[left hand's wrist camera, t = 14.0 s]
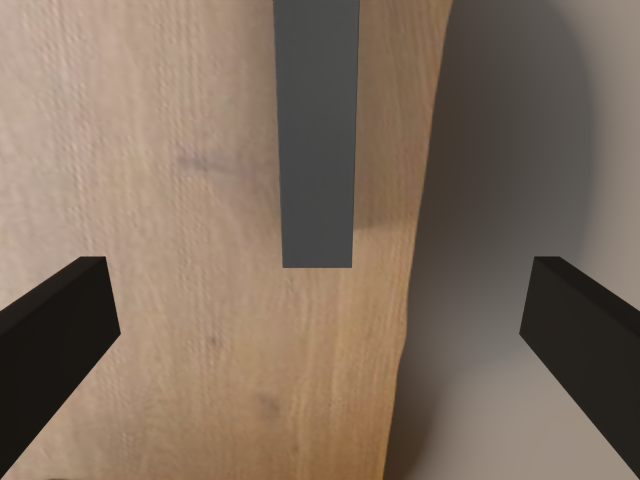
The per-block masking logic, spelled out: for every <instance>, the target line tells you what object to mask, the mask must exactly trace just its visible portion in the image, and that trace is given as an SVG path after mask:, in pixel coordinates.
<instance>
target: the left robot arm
mask: <svg viewBox="0 0 640 480" xmlns="http://www.w3.org/2000/svg"><path fill="white" fill-rule="evenodd" d="M120 334H121V332H120V327H119V322H118V317H117V312H116V307H115V302H114V297H113V292H112V287H111V282H110V277H109V272H108V267H107V261H106V257H79V258H78V259H76V260H75V261H73V262H72V263H70V264H69V265H67V266H66V267H64V268H63V269H62V270H60V271H59V272H57V273H56V274H54V275H53V276H51V277H50V278H48V279H47V280H45V281H44V282H42V283H41V284H40V285H38V286H37V287H35V288H34V289H32V290H31V291H29V292H28V293H26V294H25V295H23V296H22V297H20V298H19V299H18V300H16V301H15V302H13V303H12V304H10V305H9V306H7V307H6V308H4V309H3V310H1V311H0V479H1V478H2V477H3V476H4V475H5V473H6V472H7V471H8V470H9V469H10V467H11V466H12V465H13V464H14V463H15V461H16V460H17V459H18V458H19V456H20V455H21V454H22V453H23V452H24V450H25V449H26V448H27V447H28V446H29V444H30V443H31V442H32V441H33V440H34V438H35V437H36V436H37V435H38V434H39V432H40V431H41V430H42V429H43V427H44V426H45V425H46V424H47V423H48V421H49V420H50V419H51V418H52V417H53V415H54V414H55V413H56V412H57V411H58V409H59V408H60V407H61V406H62V404H63V403H64V402H65V401H66V400H67V398H68V397H69V396H70V395H71V394H72V392H73V391H74V390H75V389H76V388H77V386H78V385H79V384H80V383H81V382H82V380H83V379H84V378H85V377H86V375H87V374H88V373H89V372H90V371H91V369H92V368H93V367H94V366H95V365H96V363H97V362H98V361H99V360H100V359H101V357H102V356H103V355H104V354H105V352H106V351H107V350H108V349H109V348H110V346H111V345H112V344H113V343H114V342H115V340H116V339H117V338H118V337H119V336H120ZM519 334H520V336H521V337H522V338H523V339H524V340H525V342H526V343H527V344H528V345H529V346H530V348H531V349H532V350H533V351H534V352H535V354H536V355H537V356H538V357H539V359H540V360H541V361H542V362H543V363H544V365H545V366H546V367H547V368H548V369H549V371H550V372H551V373H552V374H553V375H554V377H555V378H556V379H557V380H558V381H559V383H560V384H561V385H562V386H563V388H564V389H565V390H566V391H567V392H568V394H569V395H570V396H571V397H572V398H573V400H574V401H575V402H576V403H577V404H578V406H579V407H580V408H581V409H582V410H583V412H584V413H585V414H586V415H587V417H588V418H589V419H590V420H591V421H592V423H593V424H594V425H595V426H596V427H597V429H598V430H599V431H600V432H601V434H602V435H603V436H604V437H605V438H606V440H607V441H608V442H609V443H610V444H611V446H612V447H613V448H614V449H615V450H616V452H617V453H618V454H619V455H620V456H621V458H622V459H623V460H624V461H625V463H626V464H627V465H628V466H629V467H630V469H631V470H632V471H633V472H634V473H635V475H636V476H637V477H638V478H639V479H640V311H639V310H637V309H636V308H634V307H633V306H631V305H630V304H628V303H627V302H625V301H624V300H622V299H621V298H620V297H618V296H617V295H615V294H614V293H612V292H611V291H609V290H608V289H606V288H605V287H603V286H602V285H600V284H599V283H598V282H596V281H595V280H593V279H592V278H590V277H589V276H587V275H586V274H584V273H583V272H581V271H580V270H578V269H577V268H575V267H574V266H573V265H571V264H570V263H568V262H567V261H565V260H564V259H562V258H561V257H534V261H533V267H532V272H531V277H530V282H529V287H528V292H527V297H526V302H525V307H524V312H523V317H522V322H521V327H520V333H519Z"/></svg>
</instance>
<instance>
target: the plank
mask: <svg viewBox="0 0 640 480" xmlns="http://www.w3.org/2000/svg"><path fill="white" fill-rule="evenodd" d="M273 9H274V37H275V65H276V93H277V121H278V149H279V177H280V205H281V233H282V261H283V268H352V242H353V208H354V173H355V138H356V103H357V68H358V33H359V0H273Z"/></svg>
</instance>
